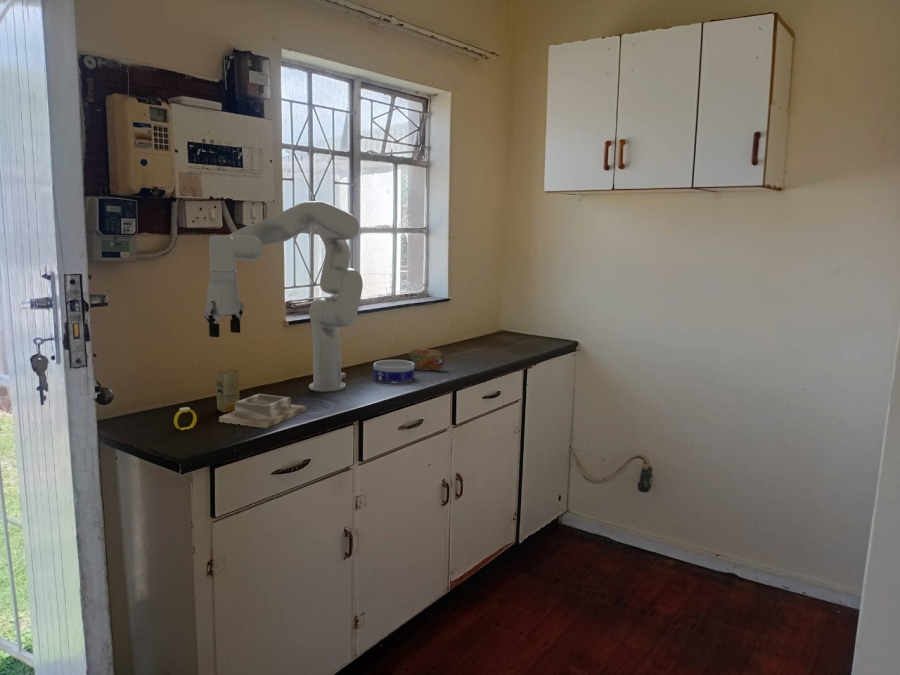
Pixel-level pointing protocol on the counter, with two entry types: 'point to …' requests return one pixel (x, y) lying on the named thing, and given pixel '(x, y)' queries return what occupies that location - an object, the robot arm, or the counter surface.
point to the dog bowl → (393, 371)
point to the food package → (426, 359)
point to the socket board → (262, 411)
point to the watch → (185, 409)
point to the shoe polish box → (227, 389)
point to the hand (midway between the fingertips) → (225, 334)
